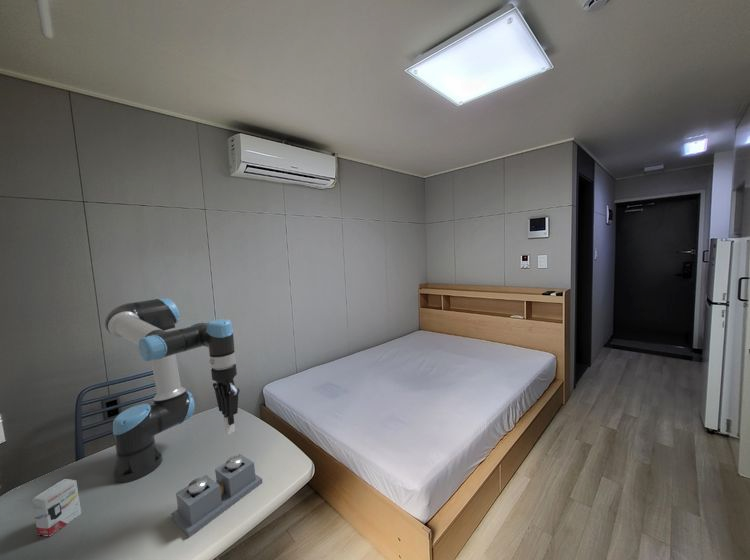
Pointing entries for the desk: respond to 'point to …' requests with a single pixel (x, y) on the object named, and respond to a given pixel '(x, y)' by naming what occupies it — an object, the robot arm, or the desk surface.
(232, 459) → the knob
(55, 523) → the ink box
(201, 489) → the knob
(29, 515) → the desk surface
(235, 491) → the mount
